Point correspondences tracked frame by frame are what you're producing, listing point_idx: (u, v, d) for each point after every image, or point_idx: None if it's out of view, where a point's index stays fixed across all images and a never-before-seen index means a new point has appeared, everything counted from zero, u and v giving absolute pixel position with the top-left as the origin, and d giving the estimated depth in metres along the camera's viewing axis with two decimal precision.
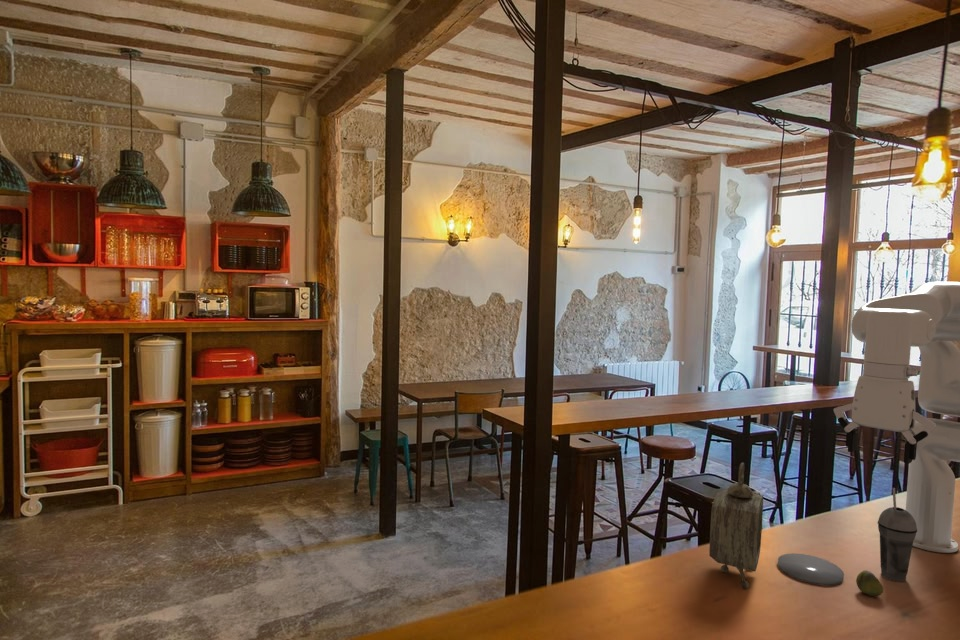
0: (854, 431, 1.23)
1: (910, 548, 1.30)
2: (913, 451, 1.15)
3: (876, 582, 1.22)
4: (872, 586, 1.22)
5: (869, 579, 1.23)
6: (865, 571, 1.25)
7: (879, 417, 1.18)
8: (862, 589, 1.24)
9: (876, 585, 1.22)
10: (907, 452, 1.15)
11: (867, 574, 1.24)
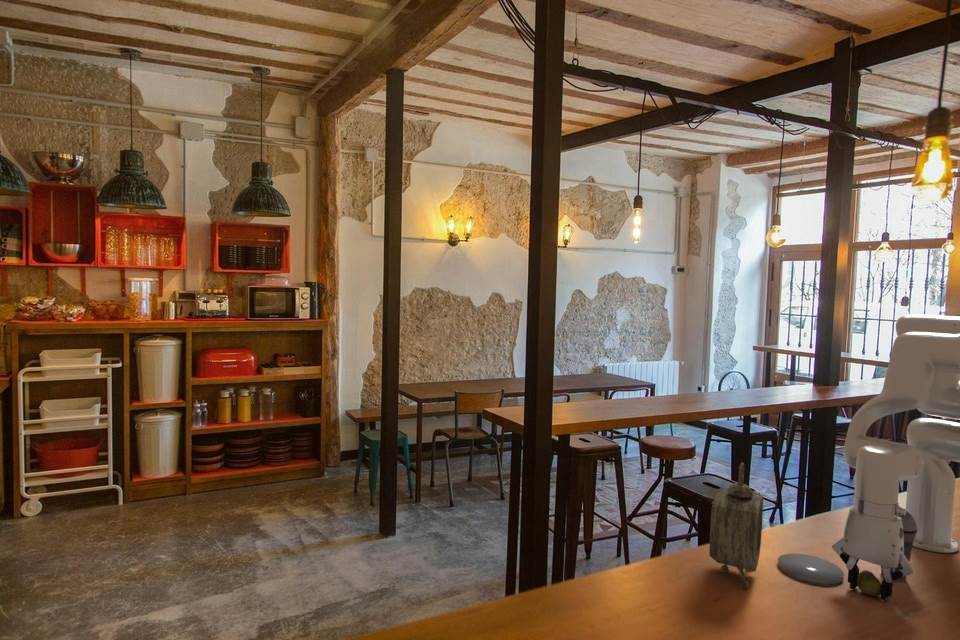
0: (856, 568, 1.26)
1: (910, 548, 1.30)
2: (889, 589, 1.21)
3: (876, 582, 1.22)
4: (872, 585, 1.22)
5: (869, 579, 1.23)
6: (865, 571, 1.25)
7: (868, 551, 1.22)
8: (862, 589, 1.24)
9: (875, 585, 1.22)
10: (884, 590, 1.21)
11: (867, 574, 1.24)
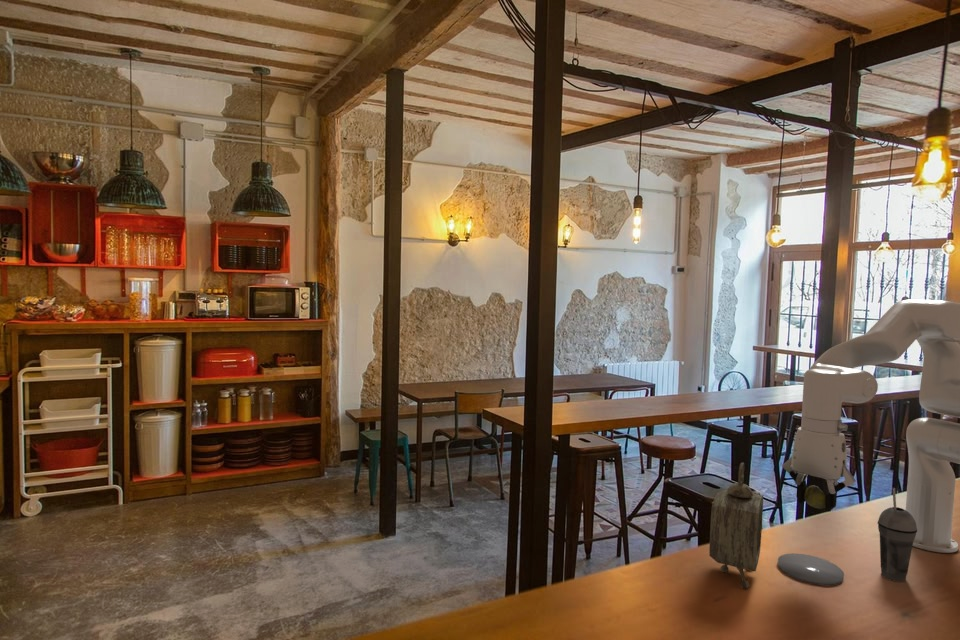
0: (804, 484, 1.35)
1: (910, 548, 1.30)
2: (833, 500, 1.30)
3: (821, 495, 1.31)
4: (818, 498, 1.31)
5: (815, 492, 1.32)
6: (812, 486, 1.34)
7: (814, 466, 1.31)
8: (809, 502, 1.33)
9: (821, 497, 1.31)
10: (828, 501, 1.30)
11: (813, 488, 1.33)
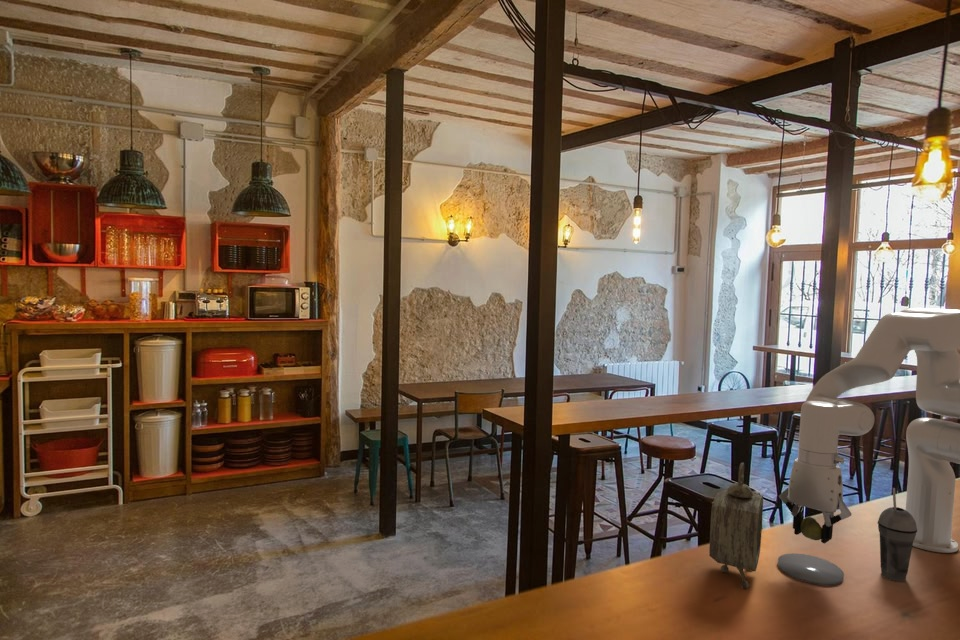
0: (800, 515, 1.36)
1: (910, 548, 1.30)
2: (829, 532, 1.31)
3: (817, 527, 1.32)
4: (813, 530, 1.32)
5: (811, 524, 1.32)
6: (808, 517, 1.34)
7: (810, 498, 1.32)
8: (805, 533, 1.33)
9: (817, 529, 1.32)
10: (824, 533, 1.31)
11: (809, 519, 1.33)
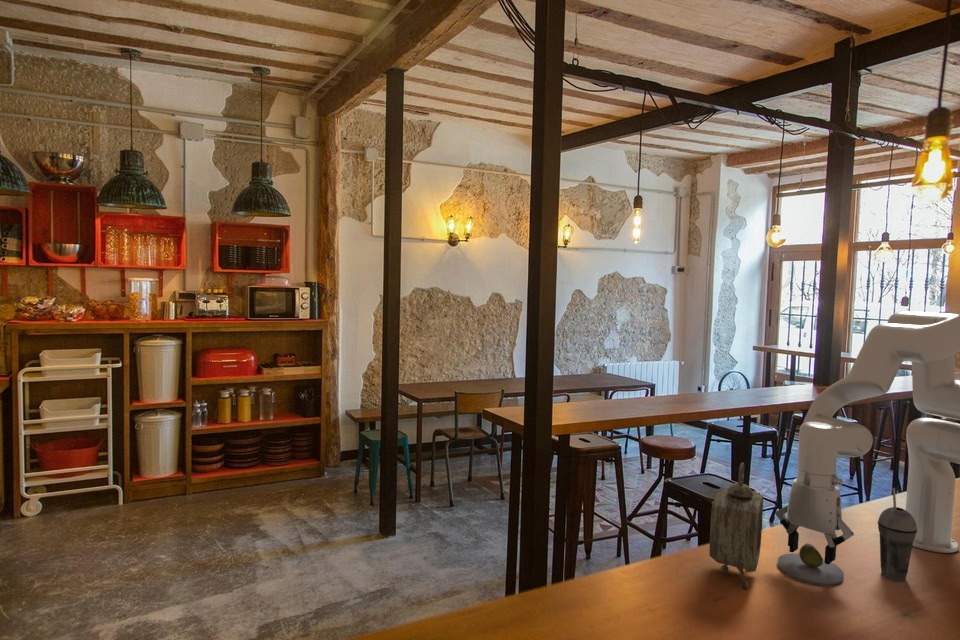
0: (795, 533, 1.37)
1: (910, 548, 1.30)
2: (832, 553, 1.30)
3: (816, 554, 1.32)
4: (813, 557, 1.32)
5: (810, 551, 1.33)
6: (807, 544, 1.35)
7: (809, 519, 1.32)
8: (804, 561, 1.34)
9: (816, 556, 1.32)
10: (827, 554, 1.30)
11: (808, 547, 1.34)
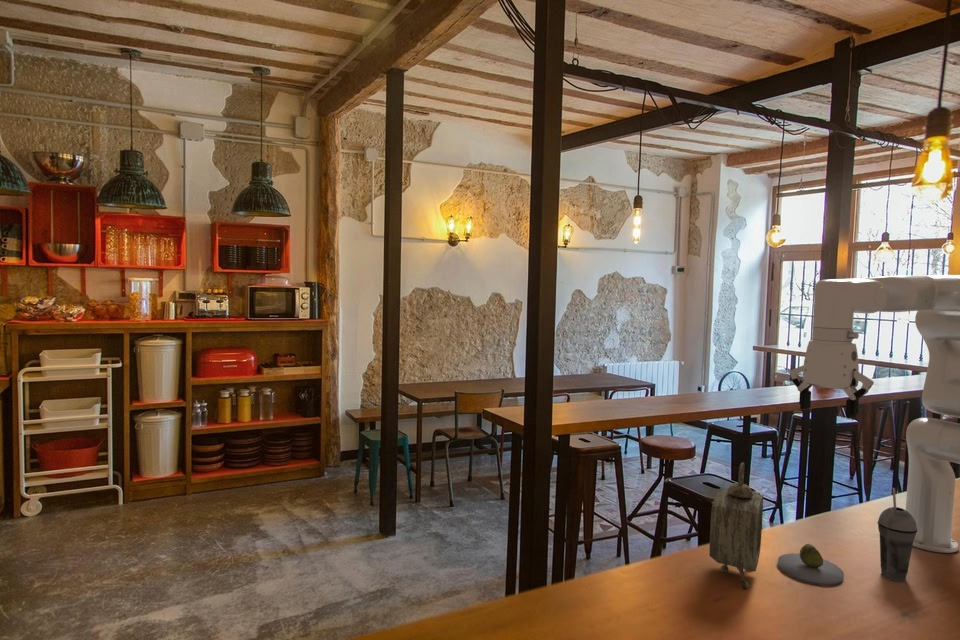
0: (807, 390, 1.36)
1: (910, 548, 1.30)
2: (854, 406, 1.27)
3: (817, 554, 1.32)
4: (813, 557, 1.32)
5: (811, 552, 1.33)
6: (807, 544, 1.35)
7: (824, 376, 1.31)
8: (804, 561, 1.34)
9: (816, 557, 1.32)
10: (848, 407, 1.27)
11: (809, 547, 1.34)
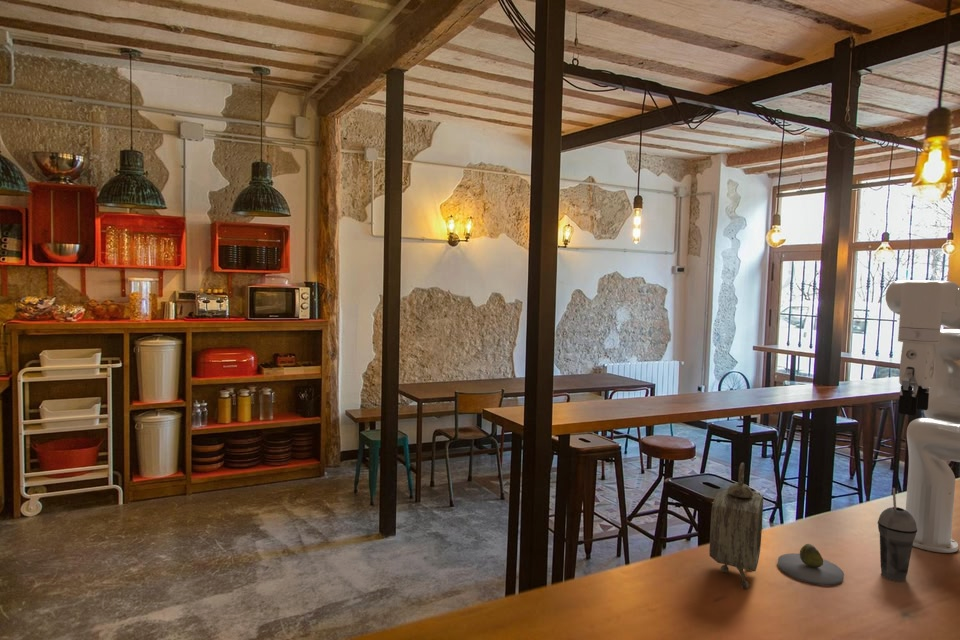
0: (919, 391, 1.38)
1: (910, 548, 1.30)
2: (903, 403, 1.31)
3: (817, 554, 1.32)
4: (813, 557, 1.32)
5: (811, 552, 1.33)
6: (807, 544, 1.35)
7: None
8: (804, 561, 1.34)
9: (816, 557, 1.32)
10: None
11: (809, 547, 1.34)
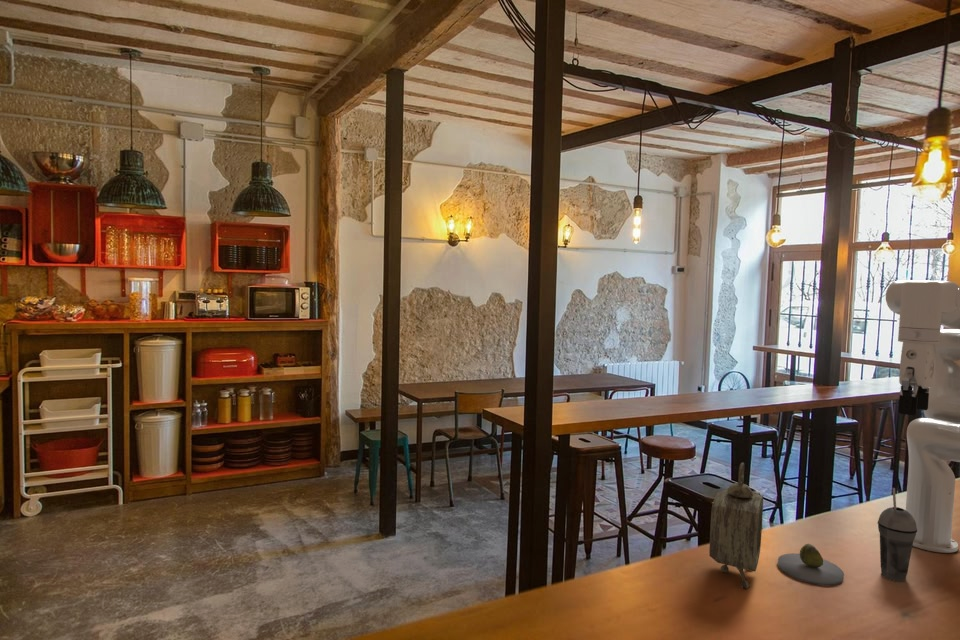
0: (919, 391, 1.38)
1: (910, 548, 1.30)
2: (903, 403, 1.31)
3: (817, 554, 1.32)
4: (813, 557, 1.32)
5: (811, 552, 1.33)
6: (807, 544, 1.35)
7: None
8: (804, 561, 1.34)
9: (816, 557, 1.32)
10: None
11: (809, 547, 1.34)
